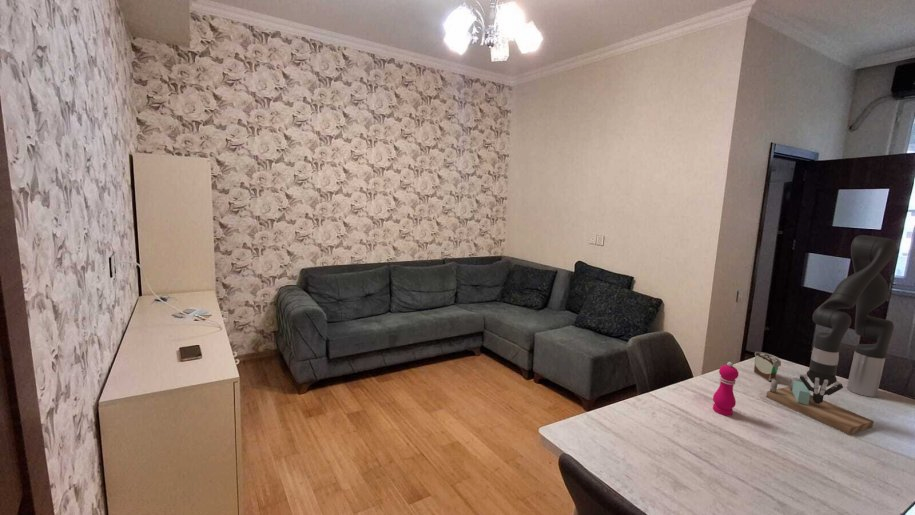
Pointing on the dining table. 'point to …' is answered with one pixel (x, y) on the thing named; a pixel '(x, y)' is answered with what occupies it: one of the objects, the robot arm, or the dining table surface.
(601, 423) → the dining table surface
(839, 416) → the board
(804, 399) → the hinged leg
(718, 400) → the pepper mill
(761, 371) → the food container
